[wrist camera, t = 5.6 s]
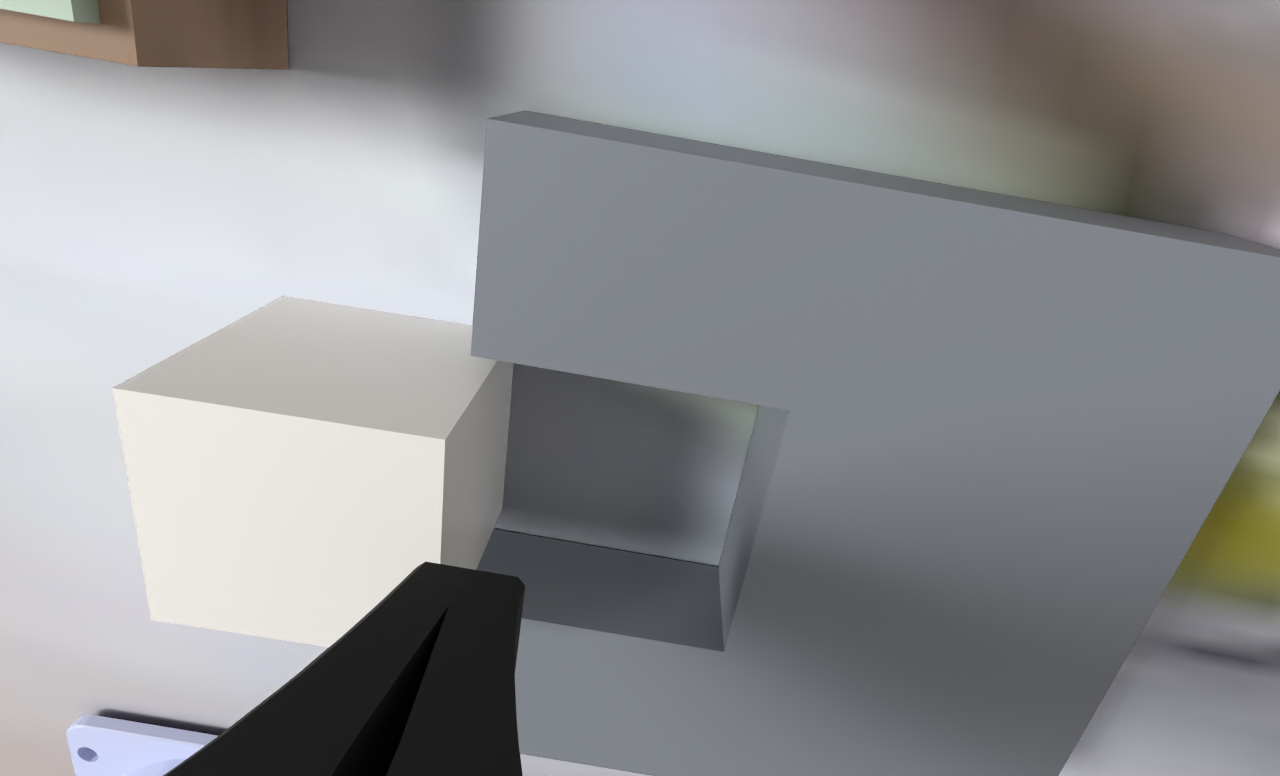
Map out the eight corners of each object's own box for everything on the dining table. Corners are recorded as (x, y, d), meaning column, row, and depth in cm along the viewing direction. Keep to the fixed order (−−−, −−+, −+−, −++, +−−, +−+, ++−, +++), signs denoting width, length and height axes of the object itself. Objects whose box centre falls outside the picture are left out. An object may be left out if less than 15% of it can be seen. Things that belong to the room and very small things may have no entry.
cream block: (516, 331, 14) (445, 440, 10) (503, 506, 15) (436, 664, 11) (284, 294, 14) (112, 388, 10) (295, 474, 15) (150, 619, 11)
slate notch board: (1224, 233, 12) (1349, 270, 10) (977, 734, 17) (1022, 837, 15) (524, 110, 12) (486, 119, 10) (476, 650, 17) (444, 740, 15)
